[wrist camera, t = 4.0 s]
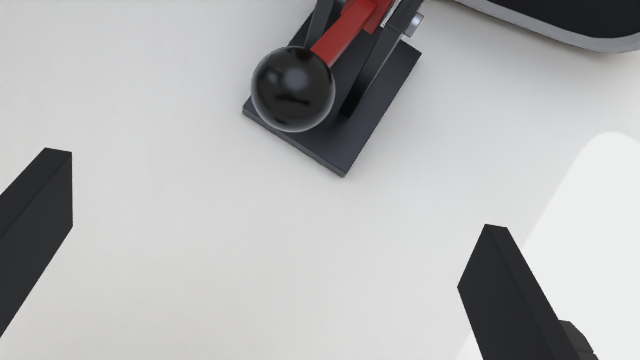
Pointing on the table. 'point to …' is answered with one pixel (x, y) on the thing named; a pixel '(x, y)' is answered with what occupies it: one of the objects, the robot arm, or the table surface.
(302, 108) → the clamp lever
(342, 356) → the table surface
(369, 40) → the toggle clamp
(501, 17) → the alarm clock
